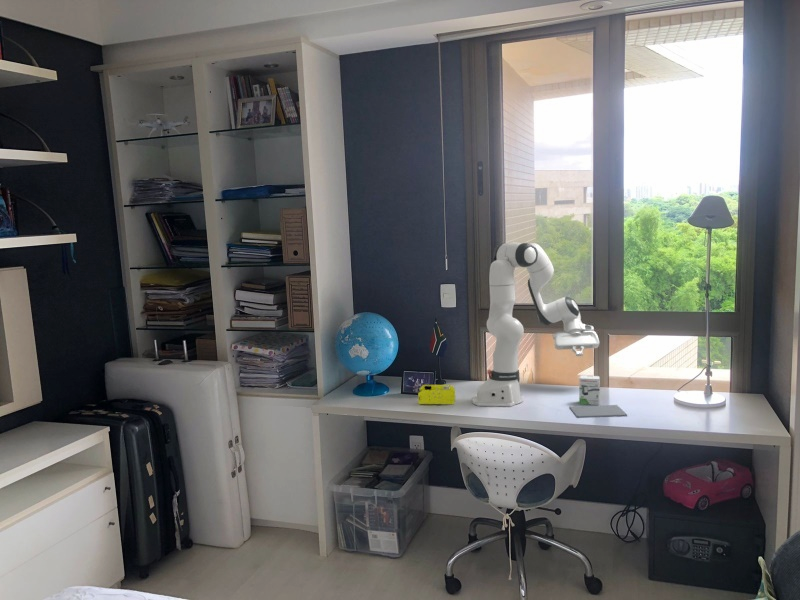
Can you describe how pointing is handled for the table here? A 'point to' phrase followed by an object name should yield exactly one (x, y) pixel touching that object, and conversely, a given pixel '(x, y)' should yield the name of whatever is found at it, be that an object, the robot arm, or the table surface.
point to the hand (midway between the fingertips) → (579, 355)
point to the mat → (597, 411)
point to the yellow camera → (436, 394)
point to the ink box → (589, 390)
